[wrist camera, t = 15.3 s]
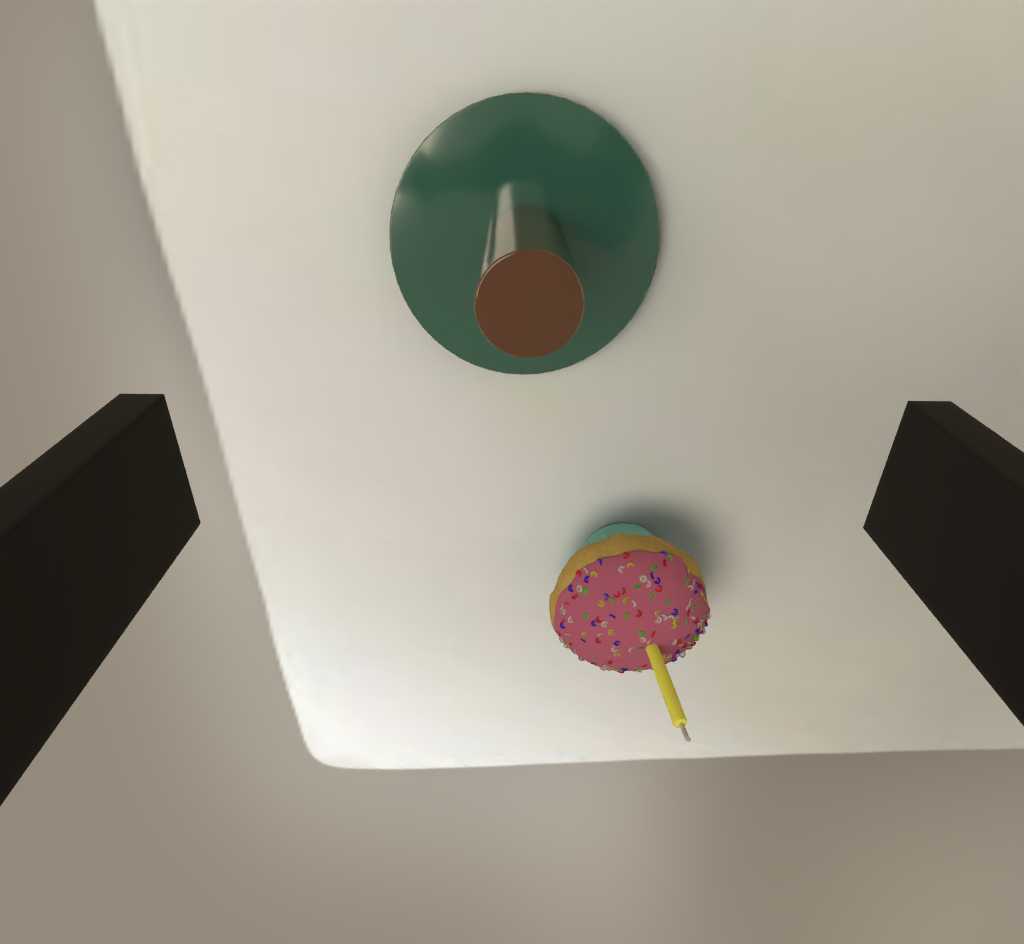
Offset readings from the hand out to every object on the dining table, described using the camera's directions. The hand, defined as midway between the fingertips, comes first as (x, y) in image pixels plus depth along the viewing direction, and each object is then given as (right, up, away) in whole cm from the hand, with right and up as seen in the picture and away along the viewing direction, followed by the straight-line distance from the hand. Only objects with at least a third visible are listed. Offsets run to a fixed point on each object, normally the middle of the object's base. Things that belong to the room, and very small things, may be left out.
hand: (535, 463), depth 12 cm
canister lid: (0, +10, +17) cm, 20 cm away
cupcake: (+6, -5, +27) cm, 28 cm away
